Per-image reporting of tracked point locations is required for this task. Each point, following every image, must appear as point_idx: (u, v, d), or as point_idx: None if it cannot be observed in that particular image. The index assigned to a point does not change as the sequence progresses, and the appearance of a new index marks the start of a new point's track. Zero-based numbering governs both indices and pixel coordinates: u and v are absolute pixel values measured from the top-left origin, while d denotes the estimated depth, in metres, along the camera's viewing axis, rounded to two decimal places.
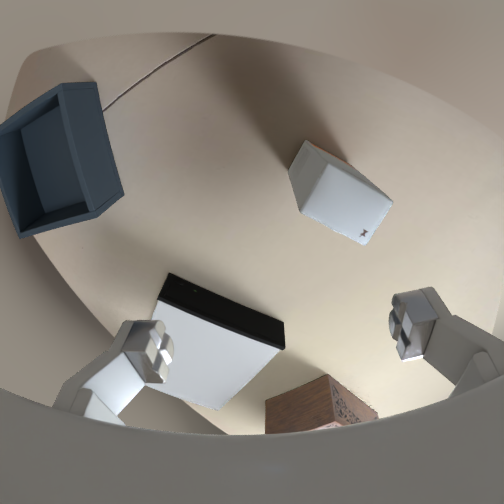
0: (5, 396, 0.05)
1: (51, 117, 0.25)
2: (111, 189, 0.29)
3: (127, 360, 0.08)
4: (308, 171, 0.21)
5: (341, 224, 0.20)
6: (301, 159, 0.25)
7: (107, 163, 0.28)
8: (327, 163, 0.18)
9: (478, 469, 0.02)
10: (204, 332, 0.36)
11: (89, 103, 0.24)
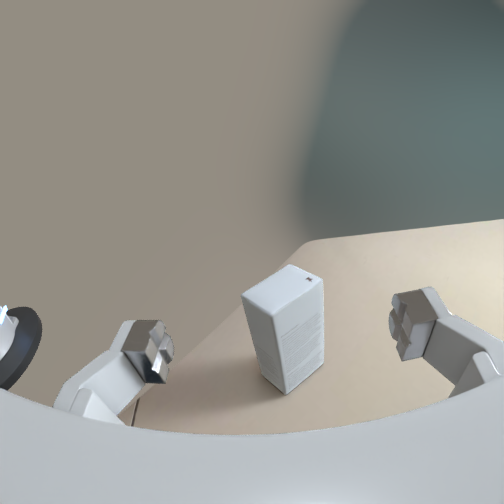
0: (5, 396, 0.05)
1: None
2: None
3: (127, 360, 0.08)
4: (258, 331, 0.24)
5: (294, 291, 0.23)
6: (266, 363, 0.27)
7: None
8: (241, 295, 0.24)
9: (478, 469, 0.02)
10: None
11: None
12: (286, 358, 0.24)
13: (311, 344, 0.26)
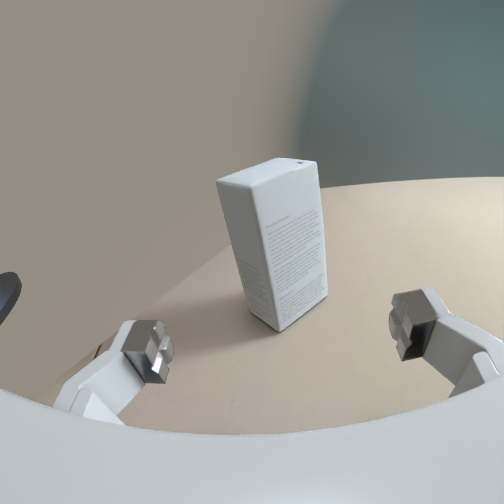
0: (5, 396, 0.05)
1: None
2: None
3: (127, 360, 0.08)
4: (238, 229, 0.19)
5: (281, 170, 0.18)
6: (252, 285, 0.22)
7: None
8: (216, 181, 0.19)
9: (478, 469, 0.02)
10: None
11: None
12: (275, 266, 0.19)
13: (309, 257, 0.21)
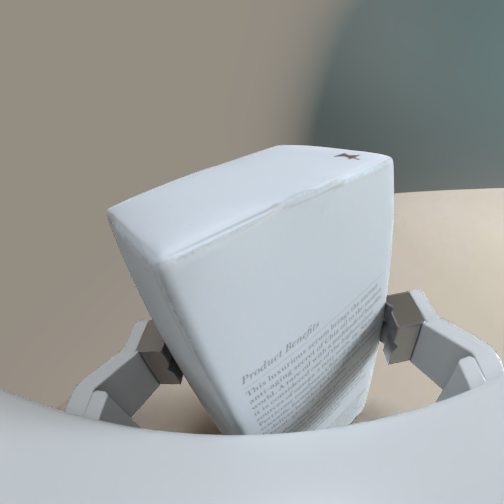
0: (5, 396, 0.05)
1: None
2: None
3: (142, 361, 0.08)
4: (170, 346, 0.07)
5: (299, 177, 0.05)
6: (221, 427, 0.09)
7: None
8: (107, 213, 0.06)
9: (478, 469, 0.02)
10: None
11: None
12: None
13: (347, 381, 0.08)
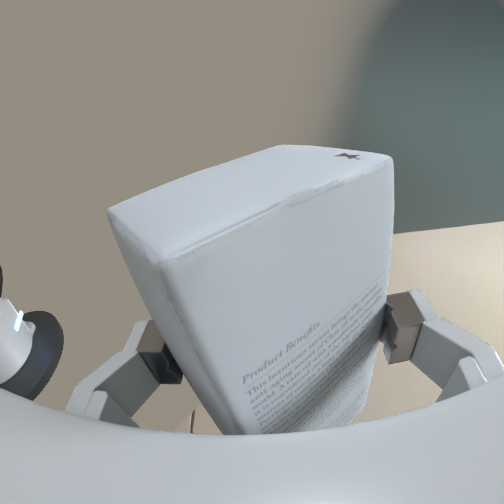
0: (5, 396, 0.05)
1: None
2: None
3: (142, 361, 0.08)
4: (170, 345, 0.07)
5: (299, 177, 0.05)
6: (221, 427, 0.09)
7: None
8: (107, 213, 0.06)
9: (478, 469, 0.02)
10: None
11: None
12: None
13: (348, 380, 0.08)
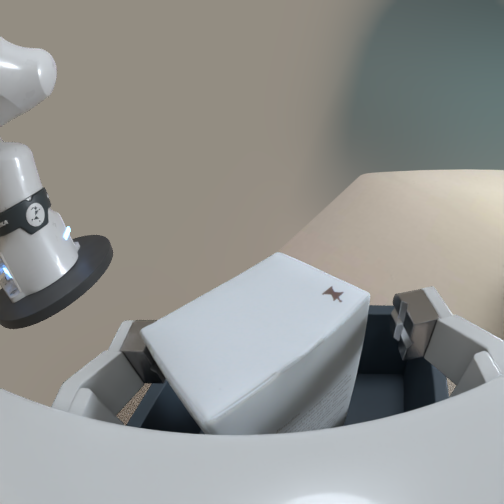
0: (5, 396, 0.05)
1: None
2: None
3: (126, 360, 0.08)
4: None
5: (292, 333, 0.07)
6: None
7: None
8: (141, 333, 0.08)
9: (478, 469, 0.02)
10: None
11: None
12: None
13: None
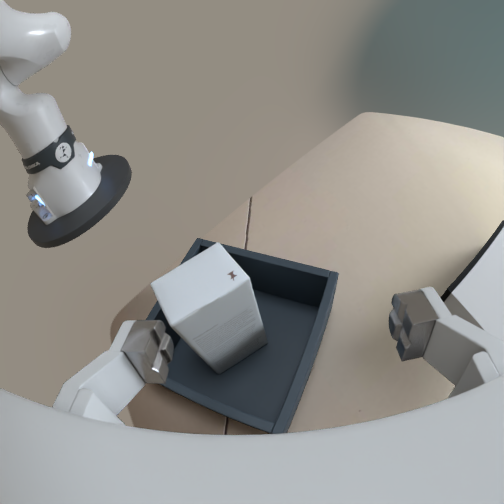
0: (5, 396, 0.05)
1: None
2: None
3: (127, 360, 0.08)
4: None
5: (208, 293, 0.18)
6: None
7: None
8: (151, 284, 0.19)
9: (478, 469, 0.02)
10: (491, 272, 0.23)
11: None
12: (207, 352, 0.21)
13: (243, 334, 0.23)
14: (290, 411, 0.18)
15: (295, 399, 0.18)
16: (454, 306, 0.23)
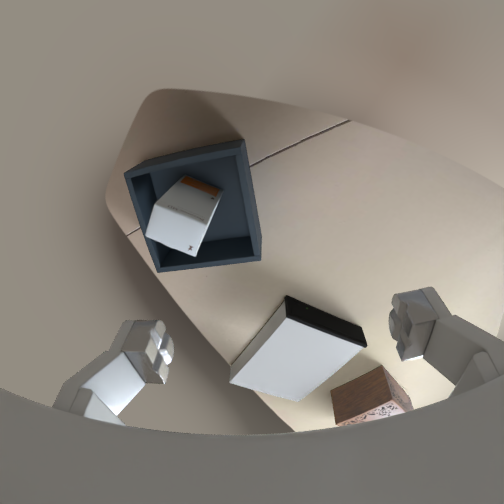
0: (5, 396, 0.05)
1: None
2: (259, 234, 0.40)
3: (127, 360, 0.08)
4: None
5: (172, 242, 0.29)
6: None
7: (256, 213, 0.39)
8: (154, 204, 0.27)
9: (478, 469, 0.02)
10: (313, 338, 0.47)
11: (247, 161, 0.35)
12: None
13: None
14: (169, 270, 0.38)
15: (176, 270, 0.38)
16: (282, 317, 0.46)
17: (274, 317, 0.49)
